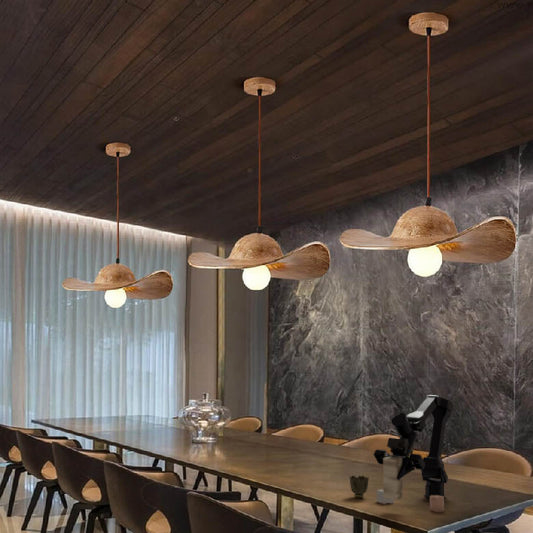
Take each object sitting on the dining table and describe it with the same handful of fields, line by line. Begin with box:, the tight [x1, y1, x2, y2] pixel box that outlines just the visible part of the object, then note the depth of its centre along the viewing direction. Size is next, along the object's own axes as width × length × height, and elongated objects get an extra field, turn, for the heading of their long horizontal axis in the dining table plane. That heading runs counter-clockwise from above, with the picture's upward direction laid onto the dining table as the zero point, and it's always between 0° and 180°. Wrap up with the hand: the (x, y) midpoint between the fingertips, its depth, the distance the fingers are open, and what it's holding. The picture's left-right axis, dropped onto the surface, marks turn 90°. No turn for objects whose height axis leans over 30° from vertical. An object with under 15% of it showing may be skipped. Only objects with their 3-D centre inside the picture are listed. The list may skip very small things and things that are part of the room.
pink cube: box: [429, 495, 445, 513], centre depth 260 cm, size 5×5×5 cm
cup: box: [349, 475, 369, 499], centre depth 279 cm, size 8×7×8 cm
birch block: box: [382, 456, 403, 501], centre depth 257 cm, size 5×5×14 cm
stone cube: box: [376, 489, 395, 505], centre depth 272 cm, size 4×4×4 cm
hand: (391, 478), depth 256 cm, fingers closed on birch block, 5 cm apart
